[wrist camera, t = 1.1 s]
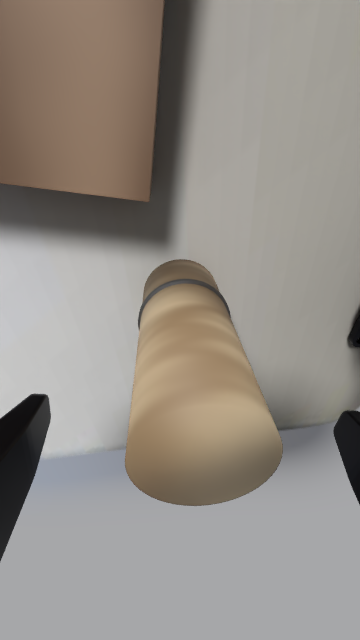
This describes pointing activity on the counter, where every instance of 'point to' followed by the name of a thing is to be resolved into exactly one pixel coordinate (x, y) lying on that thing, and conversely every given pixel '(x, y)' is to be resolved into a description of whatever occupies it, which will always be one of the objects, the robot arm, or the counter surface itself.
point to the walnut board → (80, 94)
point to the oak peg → (195, 397)
